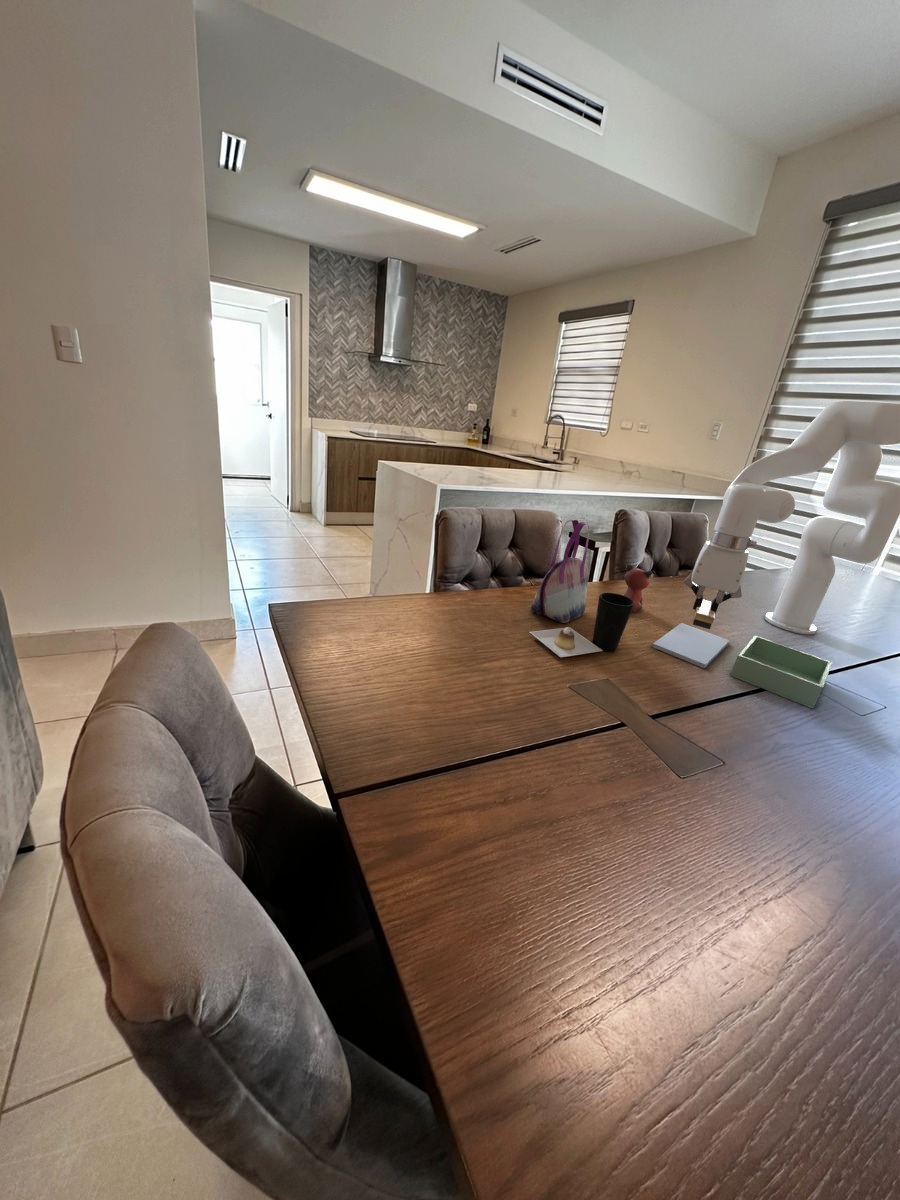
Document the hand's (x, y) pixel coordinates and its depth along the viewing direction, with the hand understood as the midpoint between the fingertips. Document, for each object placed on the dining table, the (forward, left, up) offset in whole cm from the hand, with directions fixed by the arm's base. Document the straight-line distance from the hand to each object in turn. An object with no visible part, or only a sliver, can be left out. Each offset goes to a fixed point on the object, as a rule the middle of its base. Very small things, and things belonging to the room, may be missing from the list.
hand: (702, 614), depth 114 cm
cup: (+21, -13, -8) cm, 26 cm away
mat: (+1, 0, -8) cm, 8 cm away
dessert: (+29, -19, -8) cm, 36 cm away
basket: (+1, +19, -8) cm, 20 cm away
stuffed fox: (-7, -20, -8) cm, 23 cm away
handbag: (+14, -30, -8) cm, 35 cm away
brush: (+2, 0, -1) cm, 2 cm away
